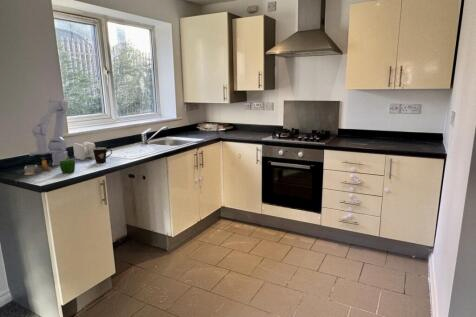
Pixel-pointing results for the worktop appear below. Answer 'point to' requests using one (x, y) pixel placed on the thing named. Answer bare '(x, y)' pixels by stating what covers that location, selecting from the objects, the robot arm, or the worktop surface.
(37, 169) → the clip
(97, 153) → the coffee mug
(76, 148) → the white lumpy block
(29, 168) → the end holder
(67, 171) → the bell pepper
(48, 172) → the board
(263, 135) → the worktop surface
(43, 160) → the connector plug
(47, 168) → the clip
